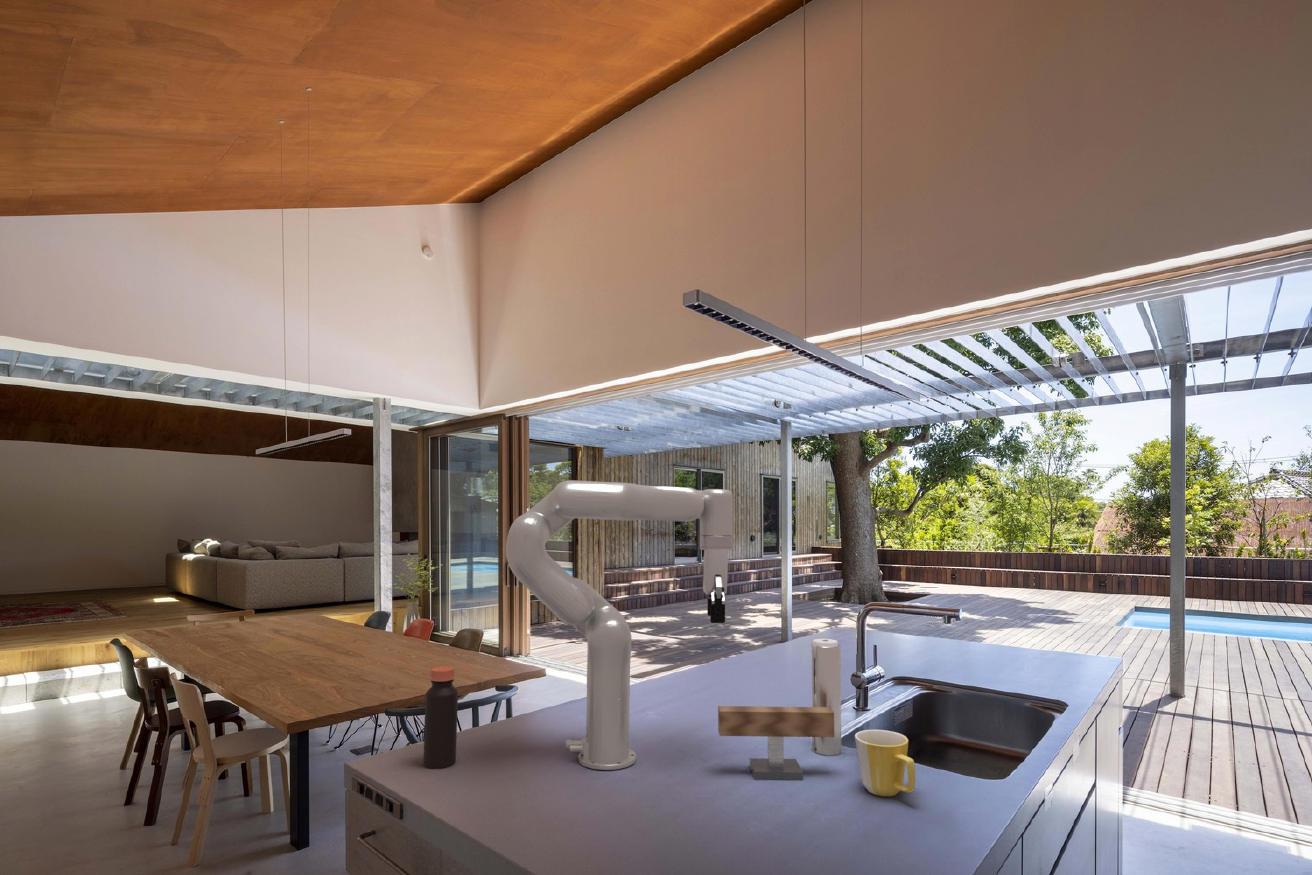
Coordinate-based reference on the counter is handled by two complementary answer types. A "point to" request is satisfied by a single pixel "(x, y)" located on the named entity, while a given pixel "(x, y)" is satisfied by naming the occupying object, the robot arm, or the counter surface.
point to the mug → (884, 762)
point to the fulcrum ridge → (775, 764)
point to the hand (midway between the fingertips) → (716, 619)
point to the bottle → (440, 719)
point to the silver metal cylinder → (827, 691)
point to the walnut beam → (775, 721)
